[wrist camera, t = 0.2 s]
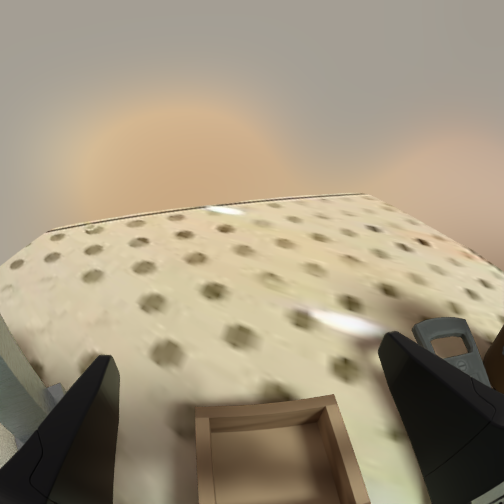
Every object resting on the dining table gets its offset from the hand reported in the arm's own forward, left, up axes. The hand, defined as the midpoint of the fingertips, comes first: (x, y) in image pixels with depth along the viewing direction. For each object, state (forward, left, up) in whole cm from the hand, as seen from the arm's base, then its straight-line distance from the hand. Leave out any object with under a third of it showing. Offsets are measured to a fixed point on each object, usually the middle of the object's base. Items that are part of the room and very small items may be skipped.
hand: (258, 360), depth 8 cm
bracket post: (+4, +18, -17) cm, 25 cm away
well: (0, -2, -17) cm, 17 cm away
